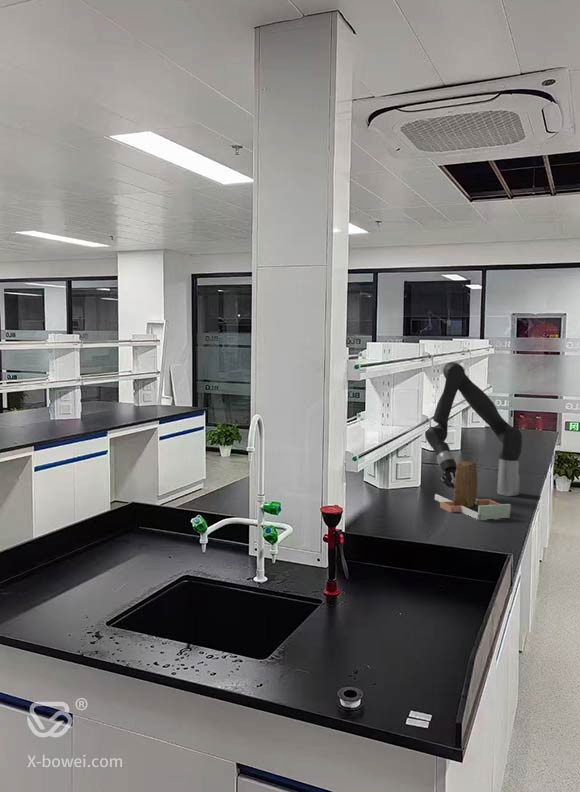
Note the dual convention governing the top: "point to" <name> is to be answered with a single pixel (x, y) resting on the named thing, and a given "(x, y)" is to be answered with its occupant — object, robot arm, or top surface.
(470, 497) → the block
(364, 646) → the top surface
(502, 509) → the trap channel
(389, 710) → the top surface
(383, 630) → the top surface
